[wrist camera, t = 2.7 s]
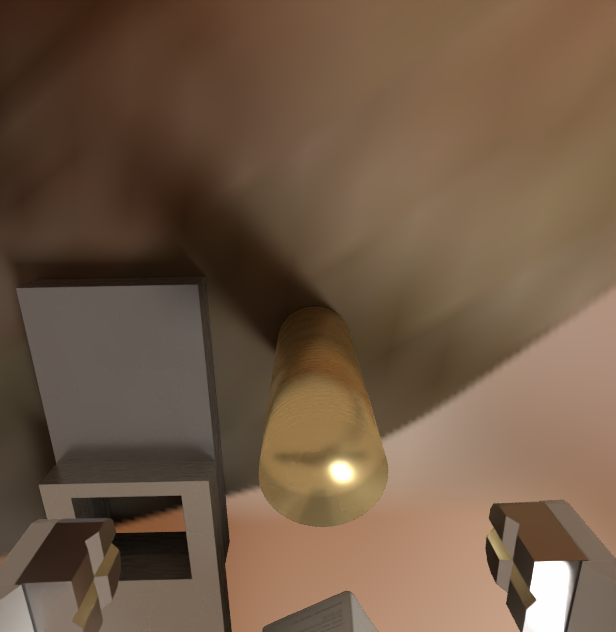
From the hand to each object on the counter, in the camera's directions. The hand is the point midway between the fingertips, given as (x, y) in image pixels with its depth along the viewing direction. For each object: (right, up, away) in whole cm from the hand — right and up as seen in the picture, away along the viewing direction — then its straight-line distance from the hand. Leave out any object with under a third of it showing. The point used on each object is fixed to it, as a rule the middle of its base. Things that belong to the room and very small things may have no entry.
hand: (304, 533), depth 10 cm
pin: (0, +4, +10) cm, 11 cm away
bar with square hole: (-8, -4, +12) cm, 15 cm away
